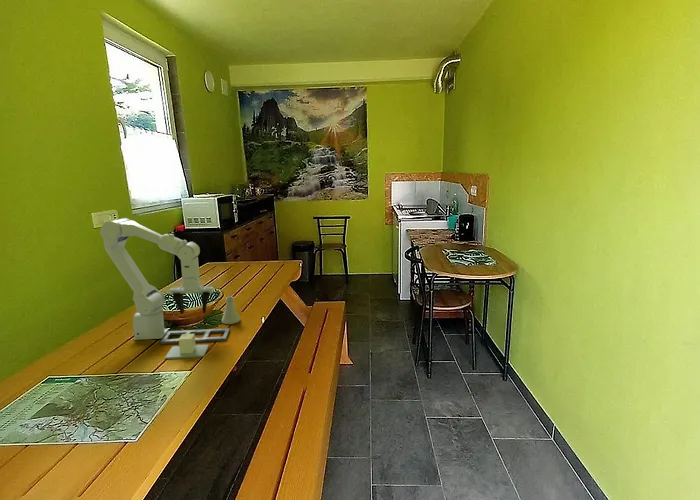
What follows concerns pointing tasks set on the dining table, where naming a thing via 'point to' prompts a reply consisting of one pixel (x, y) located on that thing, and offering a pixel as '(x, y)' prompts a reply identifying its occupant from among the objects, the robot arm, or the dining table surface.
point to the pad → (197, 352)
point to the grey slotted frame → (204, 331)
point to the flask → (230, 312)
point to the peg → (187, 343)
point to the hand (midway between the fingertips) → (193, 312)
